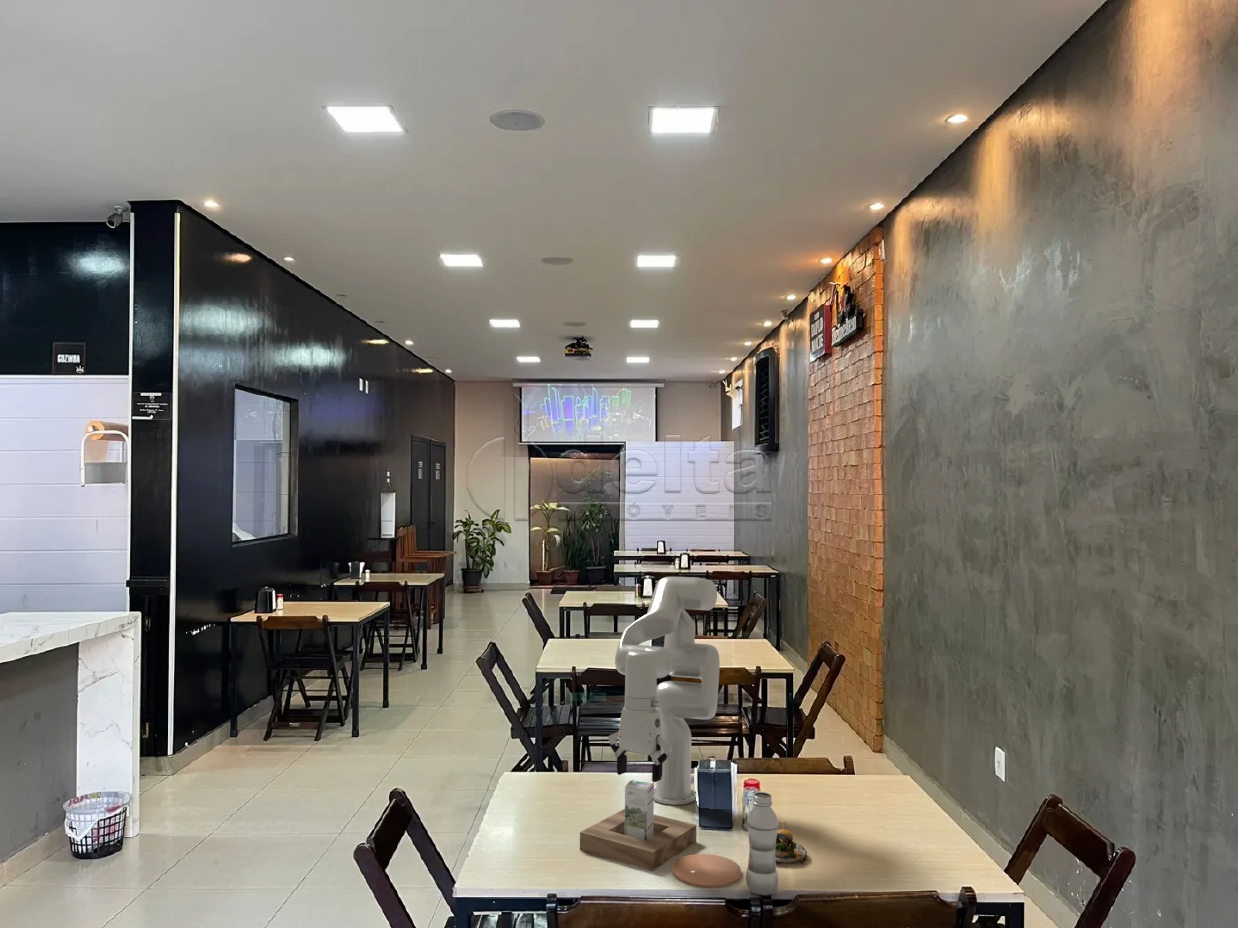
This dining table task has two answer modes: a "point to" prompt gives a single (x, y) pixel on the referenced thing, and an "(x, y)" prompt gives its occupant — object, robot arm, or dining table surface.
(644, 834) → the syrup box
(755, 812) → the plastic bottle
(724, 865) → the plate
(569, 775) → the dining table surface
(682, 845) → the holder
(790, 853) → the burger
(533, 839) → the dining table surface
